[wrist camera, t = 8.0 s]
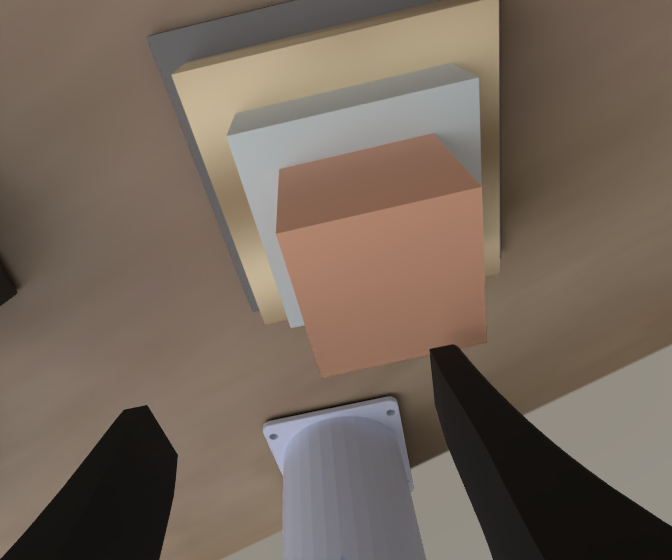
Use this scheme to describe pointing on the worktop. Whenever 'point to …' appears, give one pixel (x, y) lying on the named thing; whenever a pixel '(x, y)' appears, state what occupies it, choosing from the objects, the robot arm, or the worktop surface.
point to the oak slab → (331, 74)
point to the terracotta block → (384, 253)
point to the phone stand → (6, 287)
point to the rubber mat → (248, 30)
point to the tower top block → (349, 139)
